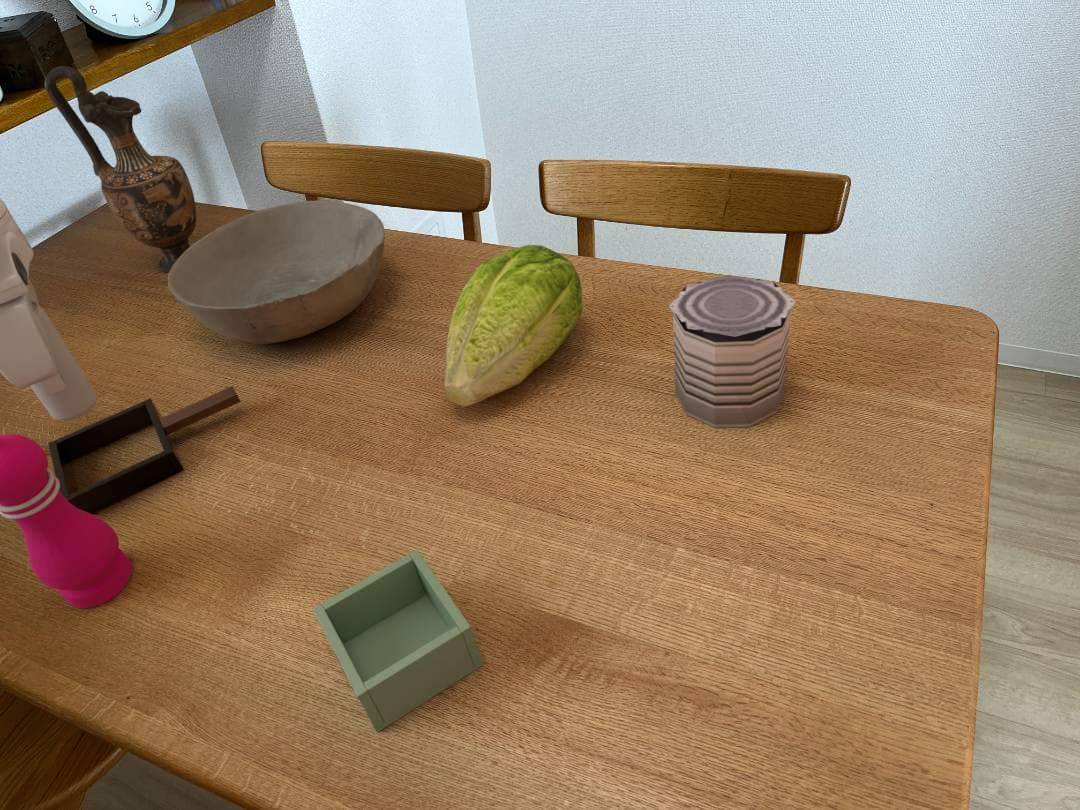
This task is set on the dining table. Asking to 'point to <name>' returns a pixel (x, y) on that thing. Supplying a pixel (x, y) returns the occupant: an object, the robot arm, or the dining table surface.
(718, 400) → the can
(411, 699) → the bin
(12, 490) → the pepper mill
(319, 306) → the bowl
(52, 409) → the beverage can
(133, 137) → the vase
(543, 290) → the lettuce
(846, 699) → the dining table surface
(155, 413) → the handled rectangular frame
